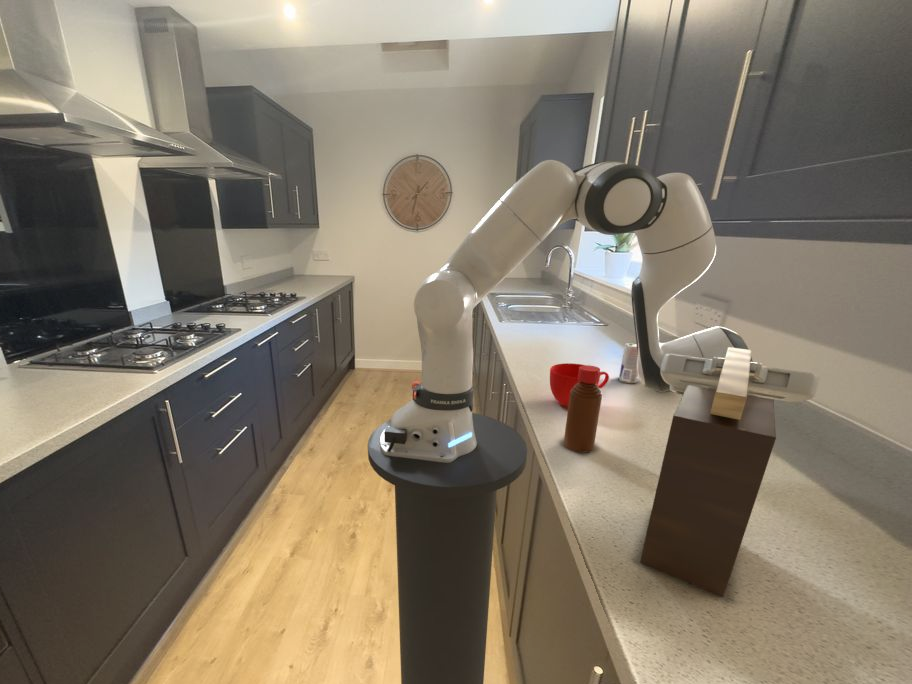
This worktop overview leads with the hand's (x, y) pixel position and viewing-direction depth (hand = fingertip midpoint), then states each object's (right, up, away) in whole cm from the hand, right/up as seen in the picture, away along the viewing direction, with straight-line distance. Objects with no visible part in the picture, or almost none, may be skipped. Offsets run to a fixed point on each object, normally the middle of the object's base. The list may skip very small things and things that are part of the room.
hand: (735, 364), depth 63 cm
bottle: (-11, -17, +31) cm, 37 cm away
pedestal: (-8, -29, 0) cm, 30 cm away
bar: (-4, -4, -3) cm, 6 cm away
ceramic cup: (-1, -9, +54) cm, 55 cm away
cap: (-11, 0, +25) cm, 27 cm away
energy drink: (+22, -2, +70) cm, 74 cm away
